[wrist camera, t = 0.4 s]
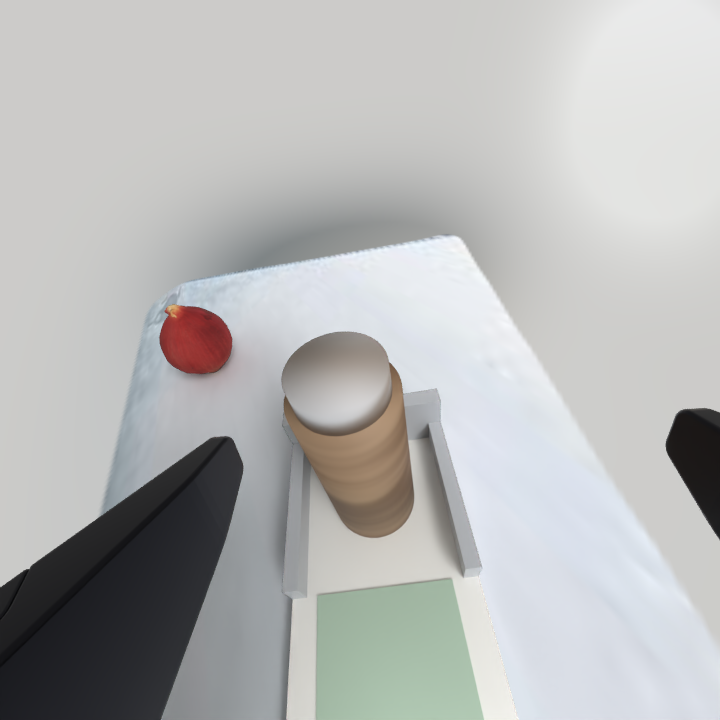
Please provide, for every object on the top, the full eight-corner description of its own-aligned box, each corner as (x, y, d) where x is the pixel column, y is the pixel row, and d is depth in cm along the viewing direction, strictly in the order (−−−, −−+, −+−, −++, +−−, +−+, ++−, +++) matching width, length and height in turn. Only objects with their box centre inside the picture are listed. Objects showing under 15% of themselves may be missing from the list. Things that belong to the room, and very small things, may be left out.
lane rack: (537, 802, 13) (573, 841, 10) (288, 824, 14) (238, 867, 11) (436, 431, 25) (436, 388, 22) (304, 451, 26) (283, 412, 22)
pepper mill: (414, 540, 20) (398, 422, 11) (329, 535, 21) (254, 423, 12) (413, 459, 23) (400, 322, 15) (341, 458, 24) (288, 328, 15)
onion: (205, 347, 37) (163, 284, 31) (253, 348, 35) (218, 282, 30) (175, 390, 33) (121, 327, 27) (228, 393, 31) (183, 327, 26)
